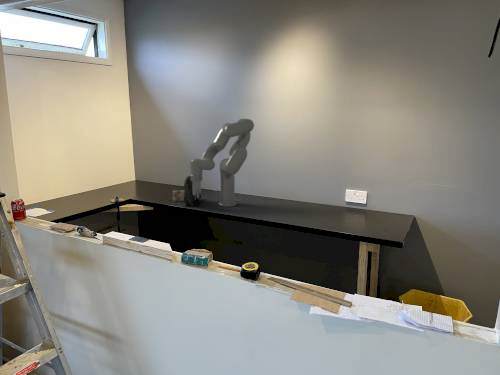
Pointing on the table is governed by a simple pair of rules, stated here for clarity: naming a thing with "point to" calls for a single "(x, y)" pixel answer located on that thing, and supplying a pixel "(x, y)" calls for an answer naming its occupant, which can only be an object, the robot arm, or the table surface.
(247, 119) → the robot arm
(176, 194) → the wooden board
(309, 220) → the table surface
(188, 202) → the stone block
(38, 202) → the table surface
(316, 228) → the table surface
